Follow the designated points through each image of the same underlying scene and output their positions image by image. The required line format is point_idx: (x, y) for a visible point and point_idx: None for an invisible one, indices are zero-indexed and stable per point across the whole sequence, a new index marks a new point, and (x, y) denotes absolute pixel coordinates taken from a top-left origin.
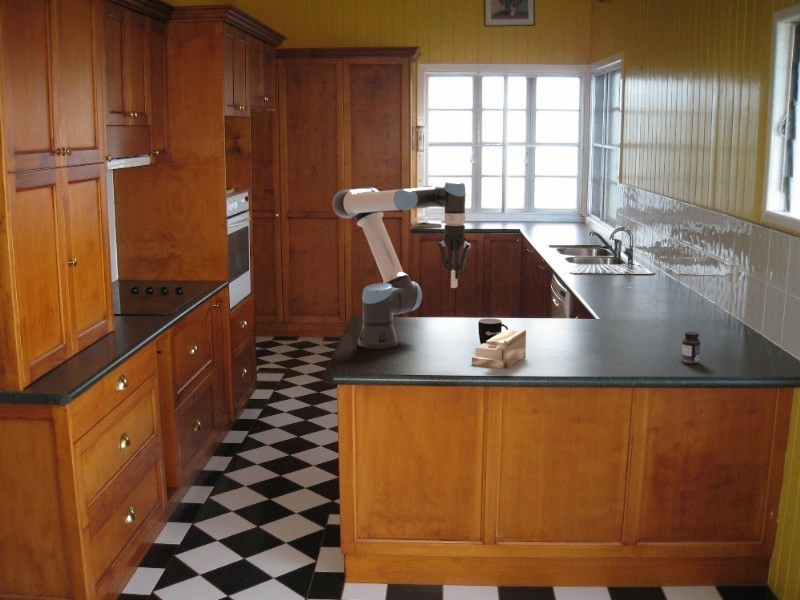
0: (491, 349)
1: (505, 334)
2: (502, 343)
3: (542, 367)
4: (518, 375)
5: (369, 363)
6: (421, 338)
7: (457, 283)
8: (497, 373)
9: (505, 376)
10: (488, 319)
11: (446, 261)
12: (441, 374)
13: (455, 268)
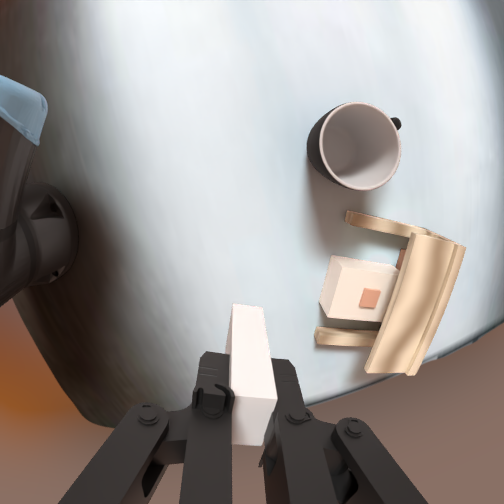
0: (367, 320)
1: (415, 294)
2: (401, 371)
3: (447, 304)
4: None
5: (103, 377)
6: (109, 121)
7: (264, 320)
8: None
9: (382, 379)
10: (347, 106)
11: (120, 462)
12: None
13: (270, 461)
